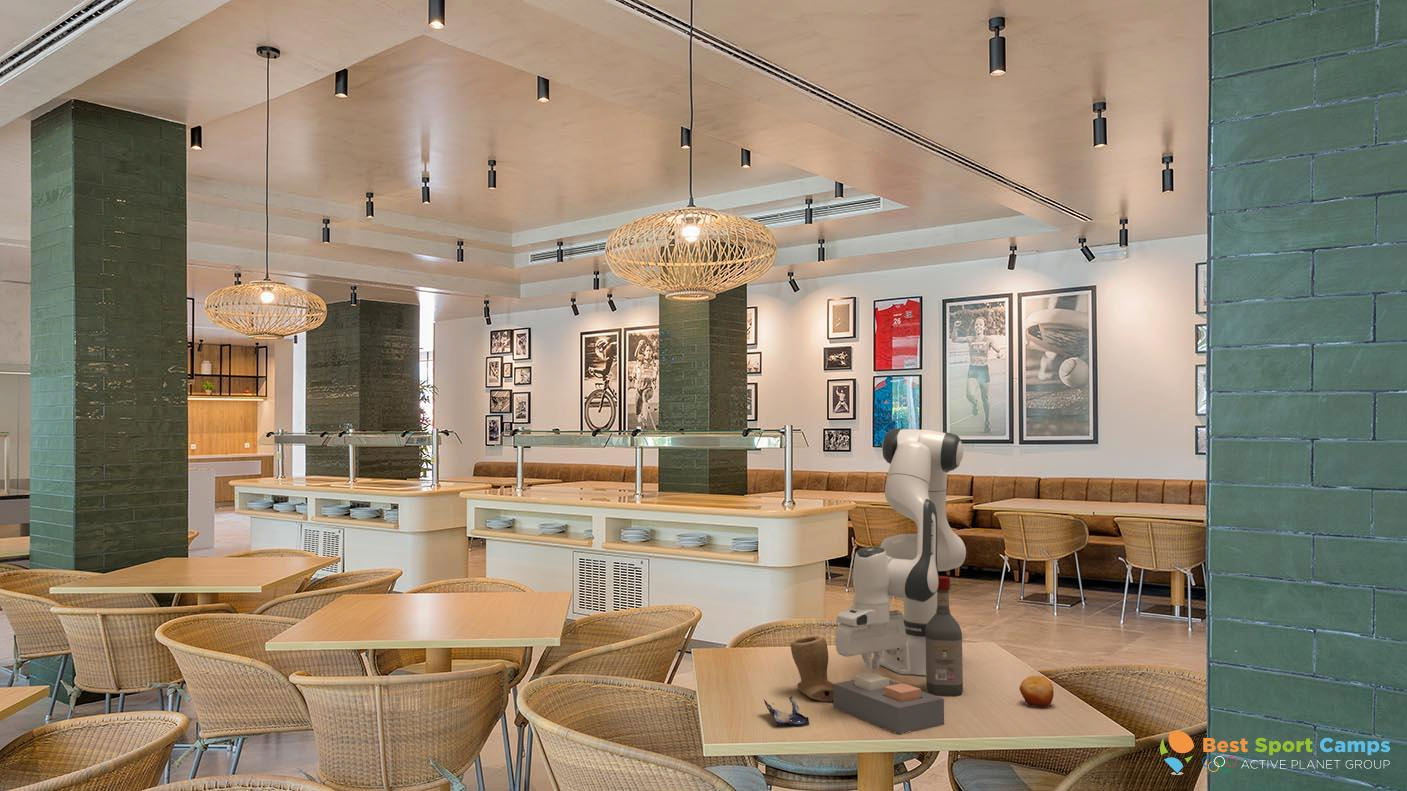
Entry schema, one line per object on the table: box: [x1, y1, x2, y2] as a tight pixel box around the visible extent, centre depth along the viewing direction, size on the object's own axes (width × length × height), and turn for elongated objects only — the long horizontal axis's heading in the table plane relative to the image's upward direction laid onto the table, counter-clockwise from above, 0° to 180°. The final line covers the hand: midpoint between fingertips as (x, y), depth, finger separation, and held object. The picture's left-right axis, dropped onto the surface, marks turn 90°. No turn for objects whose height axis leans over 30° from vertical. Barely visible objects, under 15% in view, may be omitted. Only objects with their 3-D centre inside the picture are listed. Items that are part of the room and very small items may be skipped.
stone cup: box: [790, 635, 834, 702], centre depth 248 cm, size 15×12×15 cm
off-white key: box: [854, 672, 890, 691], centre depth 235 cm, size 6×6×3 cm
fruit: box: [1019, 675, 1055, 708], centre depth 239 cm, size 8×8×8 cm
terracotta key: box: [884, 682, 922, 702], centre depth 226 cm, size 6×6×3 cm
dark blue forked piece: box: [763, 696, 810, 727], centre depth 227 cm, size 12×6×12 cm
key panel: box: [832, 679, 945, 735], centre depth 230 cm, size 24×14×6 cm, turn 31°
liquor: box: [925, 575, 964, 697], centre depth 251 cm, size 9×9×30 cm
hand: (872, 669), depth 235 cm, fingers closed
